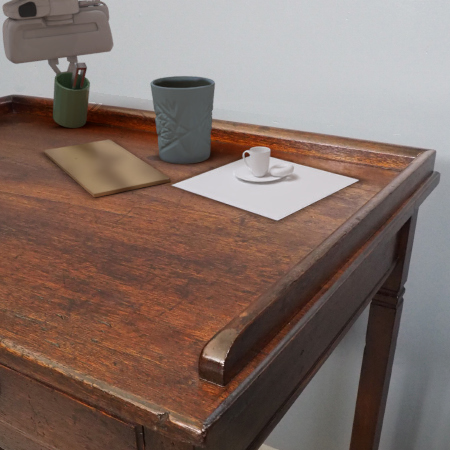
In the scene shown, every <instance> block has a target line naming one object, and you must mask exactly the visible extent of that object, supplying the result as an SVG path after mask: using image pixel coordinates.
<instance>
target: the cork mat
mask: <svg viewBox="0 0 450 450" xmlns="http://www.w3.org/2000/svg"><path fill="white" fill-rule="evenodd" d="M43 154H44V155H45V156H46V157H47V158H48V159H49V160H51V161H52V162H53V163H54V164H55V165H57V166H58V167H59V168H60V169H61V170H62V171H63V172H64V173H65V174H67V175H68V176H69V177H70V178H72V179H73V181H75V182H76V183H77V184H78V185H80V187H82V188H83V190H85V191H86V193H88V194H89V195H91V197H93V198H100V197H104V196H110V195H113V194H119V193H124V192H127V191H128V192H129V191H132V190H133V191H134V190H137V189H141V188H147V187H152V186H156V185H162V184H166V183H170V182H171V180H170V179H171V178H170V177H169V176H167V175H165V174H164V173H163V172H161V171H159V170H158V169H156V168H155V167H153V166H151V165H150V164H148V163H147V162H146V161H144V160H142V159H140V157H137V155H134V154H133V153H131V152H130V151H128V150H127V149H126V148H124V147H122V146H121V145H119V144H117V142H115V141H113V140H111V139H104V140H97V141H91V142H86V143H85V142H84V143H80V144H74V145H69V146H62V147H56V148H49V149H43Z"/></svg>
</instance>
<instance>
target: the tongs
mask: <svg viewBox="0 0 450 450" xmlns="http://www.w3.org/2000/svg"><path fill="white" fill-rule="evenodd" d="M87 70H88V66H87V64H86V62H78V63H75V65H74V70H73V75H72V79H71V84H70V89H73V90H75V86H76V82H77V77H78V74H80V76H79V81H78V85H77V90H80V89H82V87H83V83H84V79H85V77H86V74H87Z"/></svg>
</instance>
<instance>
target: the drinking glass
mask: <svg viewBox="0 0 450 450" xmlns="http://www.w3.org/2000/svg"><path fill="white" fill-rule="evenodd" d="M149 85H150V91H151V97H152V105H153V110H154V114H155V118H154V121H155V128H156V134H157V145H158V155H159V158H160V160H161V161H163V162H166V163H169V164H175V165H177V164H178V165H190V164H197V163H200V162H204V161H206V160H208V159H209V158H210V156H211V147H212V144H211V142H212V135H211V133H212V129H213V110H214V100H215V87H216V83H215V80H214V79H211V78H208V77H205V76H204V77H203V76H195V75H194V76H193V75H175V76H165V77H159V78H155V79H152V80H151V81H150V84H149Z"/></svg>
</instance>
